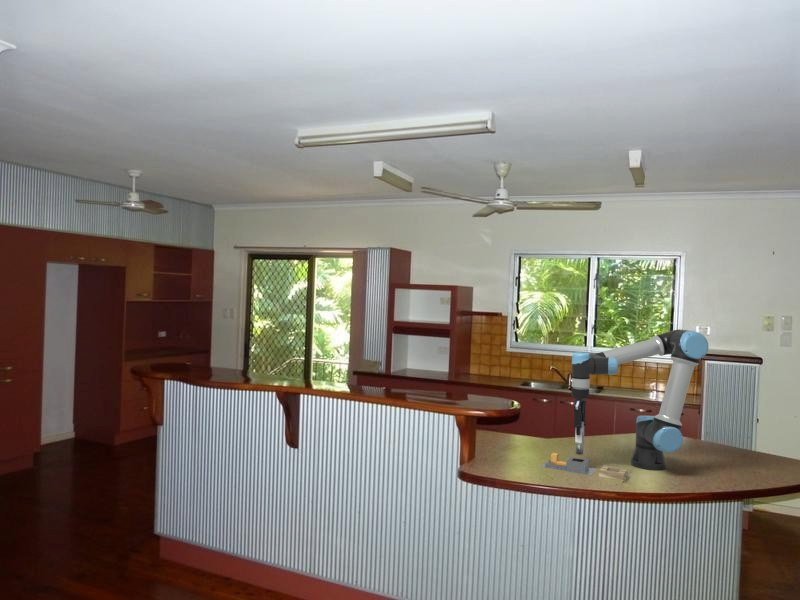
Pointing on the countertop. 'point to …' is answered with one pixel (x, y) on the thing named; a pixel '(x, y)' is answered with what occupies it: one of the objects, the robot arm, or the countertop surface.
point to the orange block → (556, 460)
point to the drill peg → (580, 445)
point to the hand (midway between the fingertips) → (579, 441)
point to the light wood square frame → (613, 473)
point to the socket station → (572, 466)
